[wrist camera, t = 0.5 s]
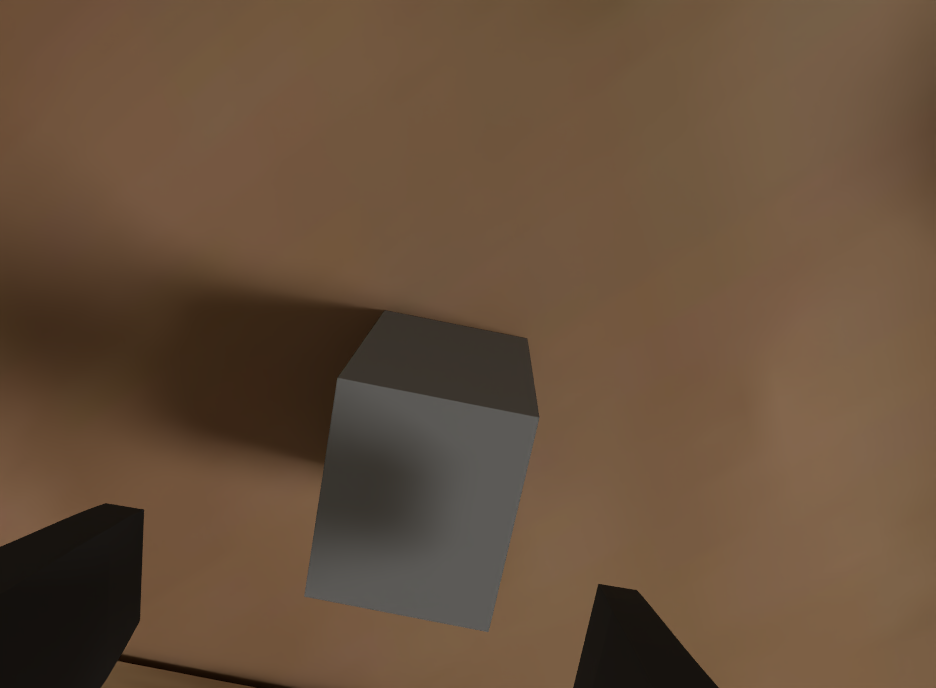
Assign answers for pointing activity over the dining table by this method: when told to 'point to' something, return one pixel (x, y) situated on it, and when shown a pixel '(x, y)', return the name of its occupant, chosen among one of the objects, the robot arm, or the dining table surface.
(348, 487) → the gray rectangular block
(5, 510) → the dining table surface
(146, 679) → the door
